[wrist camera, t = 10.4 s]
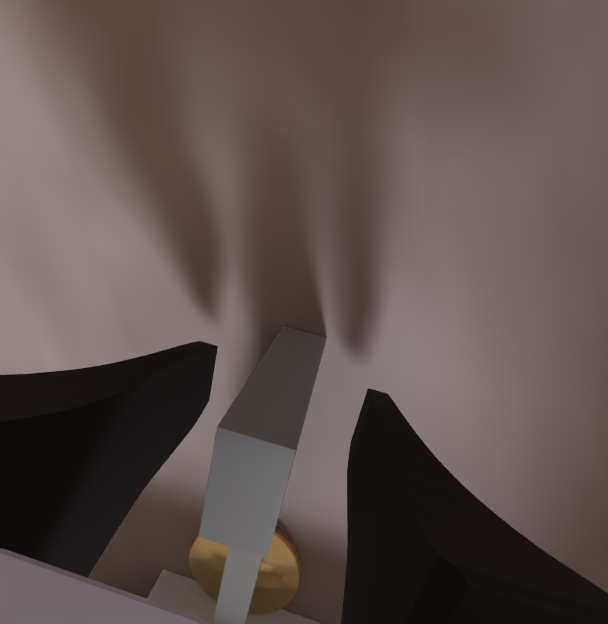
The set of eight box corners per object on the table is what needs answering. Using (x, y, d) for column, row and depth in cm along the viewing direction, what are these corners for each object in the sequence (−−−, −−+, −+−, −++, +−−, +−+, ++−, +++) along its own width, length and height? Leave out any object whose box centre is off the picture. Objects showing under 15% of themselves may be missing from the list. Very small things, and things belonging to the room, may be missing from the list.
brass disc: (265, 494, 15) (259, 513, 14) (322, 577, 16) (319, 599, 15) (178, 526, 17) (167, 545, 16) (235, 601, 18) (228, 623, 17)
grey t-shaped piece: (416, 361, 12) (463, 500, 7) (315, 637, 17) (292, 853, 11) (198, 302, 13) (68, 382, 7) (161, 584, 18) (66, 763, 12)
